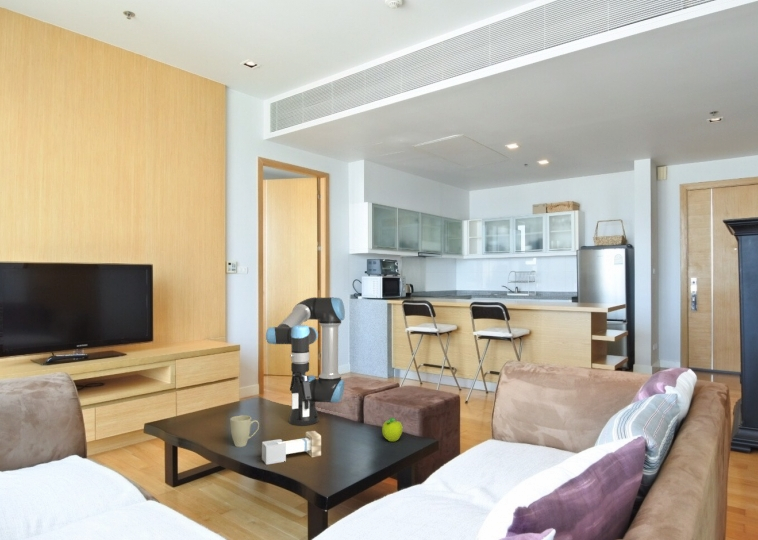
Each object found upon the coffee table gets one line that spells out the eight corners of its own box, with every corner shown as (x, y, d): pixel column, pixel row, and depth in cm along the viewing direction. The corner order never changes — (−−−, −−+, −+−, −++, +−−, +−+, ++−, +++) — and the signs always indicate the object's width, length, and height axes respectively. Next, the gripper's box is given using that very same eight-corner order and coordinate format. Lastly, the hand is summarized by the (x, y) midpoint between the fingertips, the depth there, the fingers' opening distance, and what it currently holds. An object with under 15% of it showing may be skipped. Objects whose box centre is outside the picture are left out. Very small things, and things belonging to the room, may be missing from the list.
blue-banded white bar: (311, 446, 209) (311, 436, 209) (314, 449, 205) (314, 439, 205) (277, 452, 202) (277, 442, 202) (279, 455, 198) (280, 445, 198)
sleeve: (280, 455, 204) (281, 438, 204) (285, 461, 198) (285, 443, 198) (261, 459, 200) (261, 441, 200) (266, 464, 194) (266, 446, 194)
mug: (241, 450, 210) (241, 422, 211) (225, 446, 216) (226, 418, 216) (260, 443, 220) (260, 416, 220) (244, 439, 225) (244, 413, 225)
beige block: (314, 449, 211) (314, 430, 211) (321, 455, 204) (321, 435, 204) (305, 451, 209) (305, 432, 210) (311, 457, 202) (312, 437, 202)
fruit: (379, 442, 221) (379, 420, 221) (386, 436, 229) (386, 415, 230) (398, 445, 218) (398, 422, 218) (404, 438, 226) (404, 417, 227)
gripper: (282, 358, 215) (282, 406, 215) (301, 367, 193) (301, 421, 193) (299, 357, 219) (299, 404, 219) (319, 366, 197) (319, 418, 197)
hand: (300, 412), depth 206 cm, fingers open, 13 cm apart
